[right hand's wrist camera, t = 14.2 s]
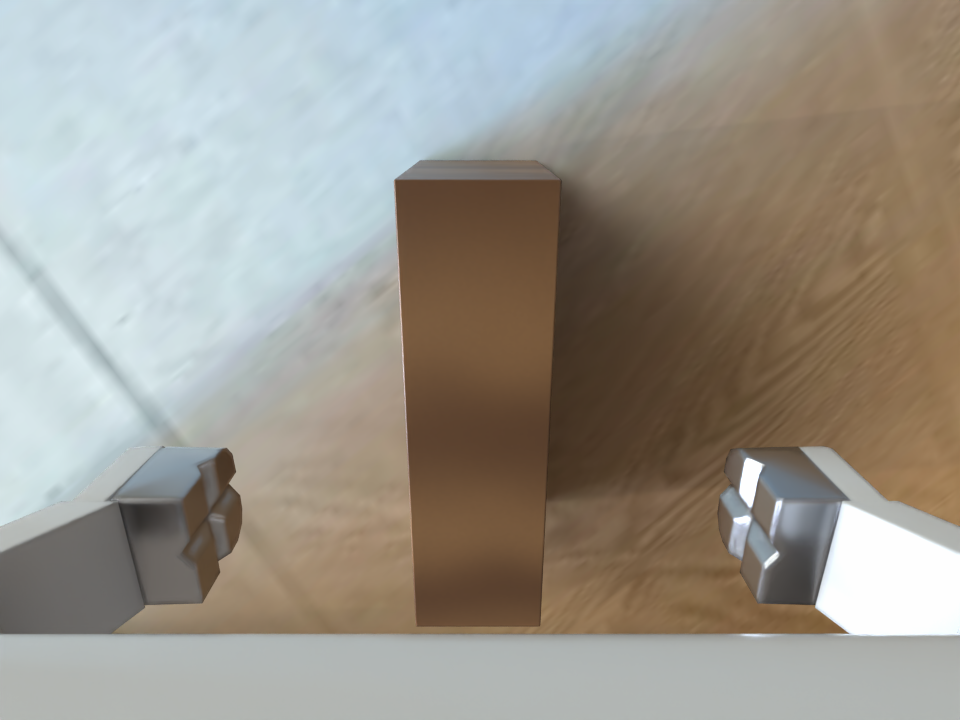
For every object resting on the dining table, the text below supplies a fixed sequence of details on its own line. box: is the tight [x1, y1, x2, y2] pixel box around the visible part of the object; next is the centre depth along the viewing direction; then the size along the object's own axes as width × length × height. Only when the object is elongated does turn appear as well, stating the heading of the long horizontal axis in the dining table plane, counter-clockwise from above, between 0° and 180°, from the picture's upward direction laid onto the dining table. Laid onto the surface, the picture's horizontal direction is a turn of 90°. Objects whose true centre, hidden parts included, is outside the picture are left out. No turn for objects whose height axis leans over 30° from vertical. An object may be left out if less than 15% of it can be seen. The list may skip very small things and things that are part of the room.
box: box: [394, 160, 561, 626], centre depth 32 cm, size 22×6×10 cm, turn 0°
